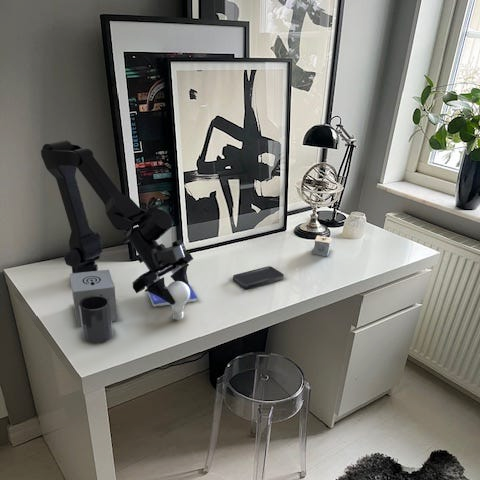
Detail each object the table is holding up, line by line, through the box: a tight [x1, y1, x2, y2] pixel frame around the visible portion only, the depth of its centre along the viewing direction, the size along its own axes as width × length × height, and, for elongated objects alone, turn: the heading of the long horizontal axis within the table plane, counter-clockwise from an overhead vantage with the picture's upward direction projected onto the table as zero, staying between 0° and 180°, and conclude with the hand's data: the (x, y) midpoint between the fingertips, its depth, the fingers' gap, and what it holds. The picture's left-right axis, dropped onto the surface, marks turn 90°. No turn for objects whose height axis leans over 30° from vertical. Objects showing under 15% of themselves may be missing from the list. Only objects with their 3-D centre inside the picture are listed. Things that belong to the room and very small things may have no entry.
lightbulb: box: [166, 280, 190, 320], centre depth 130 cm, size 6×6×11 cm
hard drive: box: [146, 284, 198, 308], centre depth 142 cm, size 2×8×12 cm
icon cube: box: [69, 269, 118, 327], centre depth 130 cm, size 10×10×10 cm
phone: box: [232, 265, 285, 290], centre depth 155 cm, size 8×1×15 cm
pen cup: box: [79, 295, 113, 344], centre depth 122 cm, size 7×7×10 cm
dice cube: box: [312, 234, 332, 257], centre depth 174 cm, size 5×5×5 cm
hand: (182, 299), depth 129 cm, fingers closed on lightbulb, 6 cm apart
